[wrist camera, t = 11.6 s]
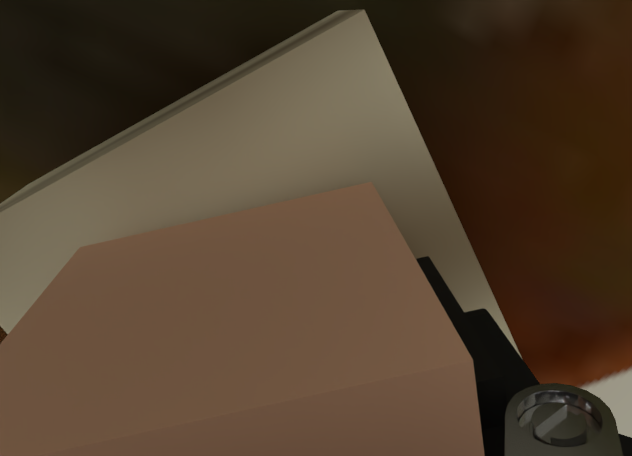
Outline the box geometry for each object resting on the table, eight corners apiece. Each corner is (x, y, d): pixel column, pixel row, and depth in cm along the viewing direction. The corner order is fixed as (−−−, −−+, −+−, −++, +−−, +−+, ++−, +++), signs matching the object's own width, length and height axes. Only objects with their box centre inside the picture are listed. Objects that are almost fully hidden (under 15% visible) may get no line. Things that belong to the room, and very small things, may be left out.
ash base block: (32, 181, 16) (-67, 250, 11) (336, 10, 15) (364, 9, 10) (213, 417, 20) (194, 543, 15) (470, 294, 18) (536, 389, 14)
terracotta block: (80, 247, 11) (-120, 490, 5) (371, 181, 11) (473, 359, 5) (170, 468, 13) (96, 799, 8) (413, 415, 13) (515, 710, 8)
